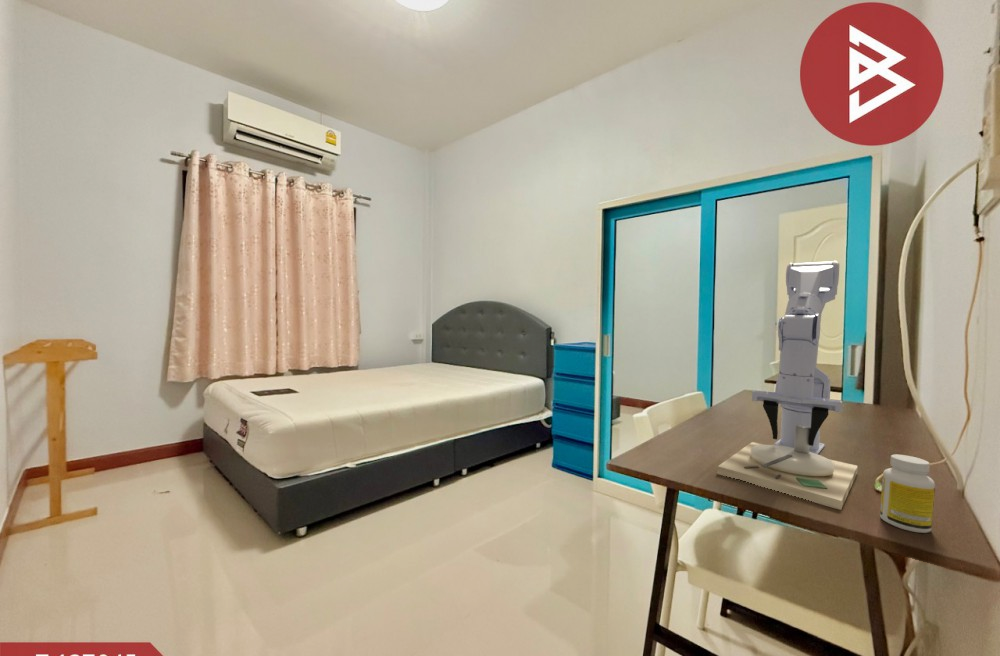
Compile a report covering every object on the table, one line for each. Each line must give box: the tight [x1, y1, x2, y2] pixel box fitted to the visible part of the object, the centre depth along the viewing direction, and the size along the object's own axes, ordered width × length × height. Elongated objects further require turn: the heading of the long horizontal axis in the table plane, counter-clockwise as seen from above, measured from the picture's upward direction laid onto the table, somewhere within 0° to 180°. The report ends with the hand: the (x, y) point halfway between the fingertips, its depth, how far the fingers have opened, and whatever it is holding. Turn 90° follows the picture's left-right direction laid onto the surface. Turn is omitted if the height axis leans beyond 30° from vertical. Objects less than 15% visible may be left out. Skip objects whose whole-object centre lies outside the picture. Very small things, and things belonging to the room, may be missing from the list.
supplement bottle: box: [879, 453, 936, 534], centre depth 59 cm, size 5×5×10 cm
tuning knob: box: [751, 425, 834, 476], centre depth 76 cm, size 18×13×6 cm
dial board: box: [716, 441, 858, 511], centre depth 77 cm, size 22×18×2 cm
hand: (792, 441), depth 81 cm, fingers open, 5 cm apart
